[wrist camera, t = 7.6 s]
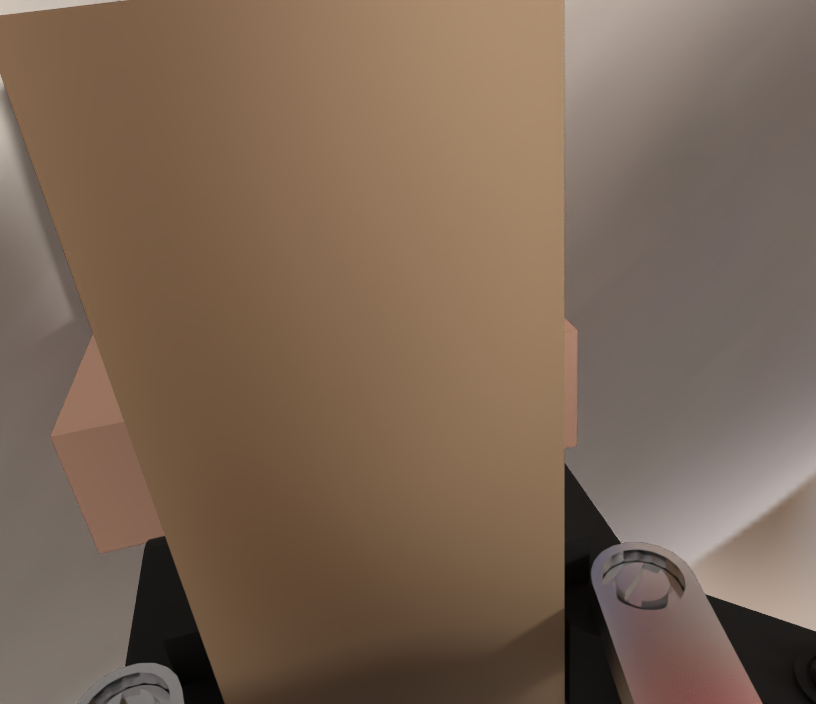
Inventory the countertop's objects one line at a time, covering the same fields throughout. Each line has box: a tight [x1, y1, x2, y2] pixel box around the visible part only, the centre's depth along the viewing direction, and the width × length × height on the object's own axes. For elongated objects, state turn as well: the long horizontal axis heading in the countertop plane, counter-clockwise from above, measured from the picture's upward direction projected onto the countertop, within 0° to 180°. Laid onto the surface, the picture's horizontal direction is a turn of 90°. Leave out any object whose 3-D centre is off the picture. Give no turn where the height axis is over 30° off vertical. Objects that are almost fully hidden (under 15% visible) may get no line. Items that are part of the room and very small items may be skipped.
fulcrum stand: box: [50, 317, 578, 554], centre depth 17 cm, size 10×14×7 cm
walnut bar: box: [0, 0, 565, 704], centre depth 11 cm, size 4×16×5 cm, turn 6°
